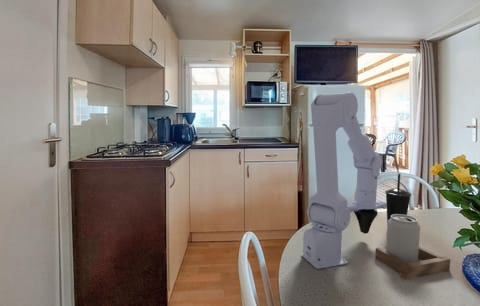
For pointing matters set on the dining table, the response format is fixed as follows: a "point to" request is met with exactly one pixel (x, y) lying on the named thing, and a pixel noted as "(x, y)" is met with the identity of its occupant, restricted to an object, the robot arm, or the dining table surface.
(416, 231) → the can
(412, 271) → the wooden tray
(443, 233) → the dining table surface
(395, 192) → the drinking cup
